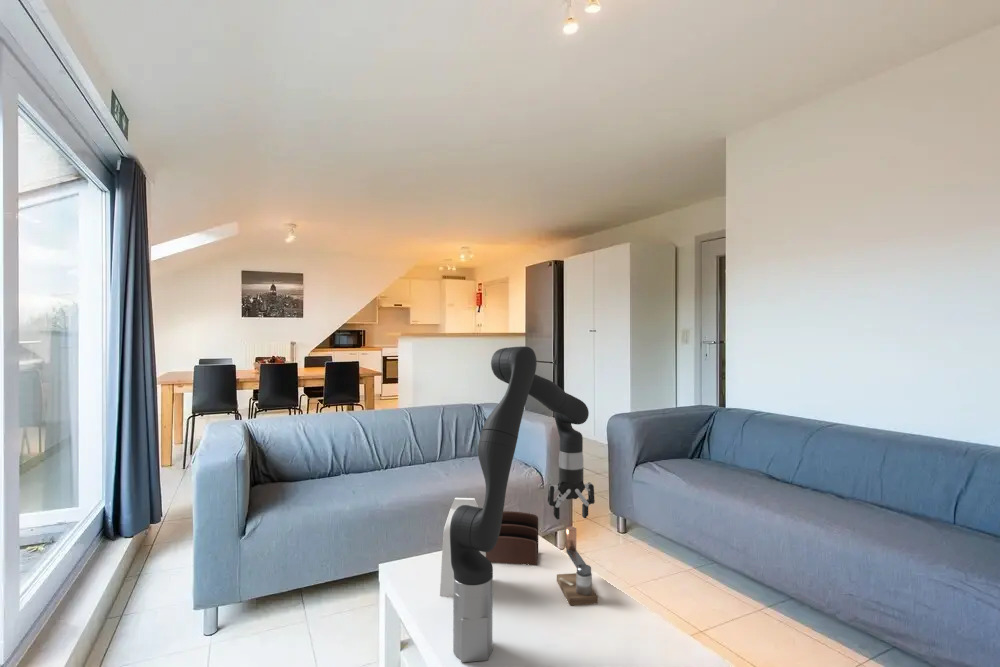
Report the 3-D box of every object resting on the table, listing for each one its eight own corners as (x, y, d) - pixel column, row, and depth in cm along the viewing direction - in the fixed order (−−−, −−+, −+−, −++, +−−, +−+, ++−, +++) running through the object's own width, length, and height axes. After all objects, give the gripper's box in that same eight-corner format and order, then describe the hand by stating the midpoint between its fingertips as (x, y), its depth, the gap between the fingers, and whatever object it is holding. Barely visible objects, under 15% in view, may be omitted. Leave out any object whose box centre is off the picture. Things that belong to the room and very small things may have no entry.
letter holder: (481, 549, 175) (481, 509, 175) (538, 553, 172) (538, 511, 172) (476, 562, 165) (476, 519, 165) (537, 566, 162) (537, 522, 163)
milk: (486, 578, 153) (487, 493, 154) (481, 598, 142) (482, 505, 142) (447, 576, 155) (448, 492, 155) (439, 596, 143) (440, 504, 143)
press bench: (597, 603, 139) (597, 578, 139) (568, 605, 138) (569, 580, 138) (582, 579, 153) (582, 556, 153) (556, 581, 152) (556, 557, 152)
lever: (593, 575, 140) (593, 548, 140) (579, 576, 140) (579, 549, 140) (575, 550, 157) (575, 526, 157) (563, 551, 156) (563, 527, 156)
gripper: (551, 469, 150) (551, 523, 150) (597, 467, 152) (597, 521, 152) (545, 463, 158) (545, 514, 158) (589, 461, 160) (589, 512, 160)
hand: (571, 518), depth 155 cm, fingers open, 8 cm apart
